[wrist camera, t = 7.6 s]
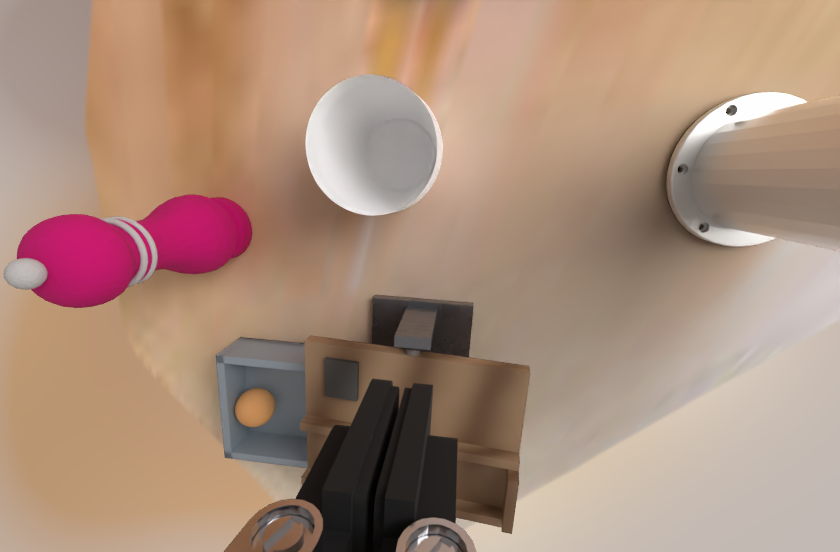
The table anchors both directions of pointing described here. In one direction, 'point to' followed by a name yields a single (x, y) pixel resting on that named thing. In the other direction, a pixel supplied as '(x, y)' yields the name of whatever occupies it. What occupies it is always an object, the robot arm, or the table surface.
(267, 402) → the ball
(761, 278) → the table surface
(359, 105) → the cup
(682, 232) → the table surface
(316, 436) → the tray
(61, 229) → the pepper mill
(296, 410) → the bin
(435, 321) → the stand
